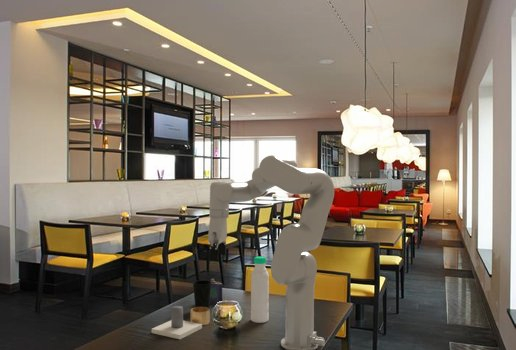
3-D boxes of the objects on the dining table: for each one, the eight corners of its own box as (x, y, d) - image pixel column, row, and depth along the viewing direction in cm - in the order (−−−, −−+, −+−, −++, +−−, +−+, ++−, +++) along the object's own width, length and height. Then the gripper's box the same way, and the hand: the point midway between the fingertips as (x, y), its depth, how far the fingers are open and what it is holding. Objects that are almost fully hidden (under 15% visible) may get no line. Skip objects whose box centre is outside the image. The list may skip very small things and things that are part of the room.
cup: (189, 311, 191) (189, 283, 191) (199, 307, 198) (200, 279, 198) (204, 314, 187) (204, 285, 187) (214, 309, 194) (214, 281, 194)
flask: (201, 302, 204) (201, 278, 204) (203, 301, 207) (204, 277, 207) (221, 304, 202) (221, 280, 202) (223, 302, 205) (223, 278, 205)
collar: (213, 321, 179) (213, 308, 179) (202, 326, 173) (202, 313, 173) (198, 318, 183) (198, 305, 183) (186, 323, 176) (186, 310, 176)
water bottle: (266, 324, 176) (267, 259, 176) (249, 322, 178) (249, 258, 178) (270, 318, 183) (270, 255, 183) (252, 317, 185) (253, 255, 184)
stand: (202, 328, 171) (202, 305, 171) (180, 339, 160) (180, 315, 160) (174, 322, 178) (174, 300, 177) (151, 332, 166) (151, 309, 166)
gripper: (216, 210, 189) (215, 252, 190) (202, 215, 172) (201, 260, 173) (234, 211, 187) (233, 253, 188) (221, 216, 170) (220, 262, 171)
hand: (217, 257), depth 180 cm, fingers open, 9 cm apart
